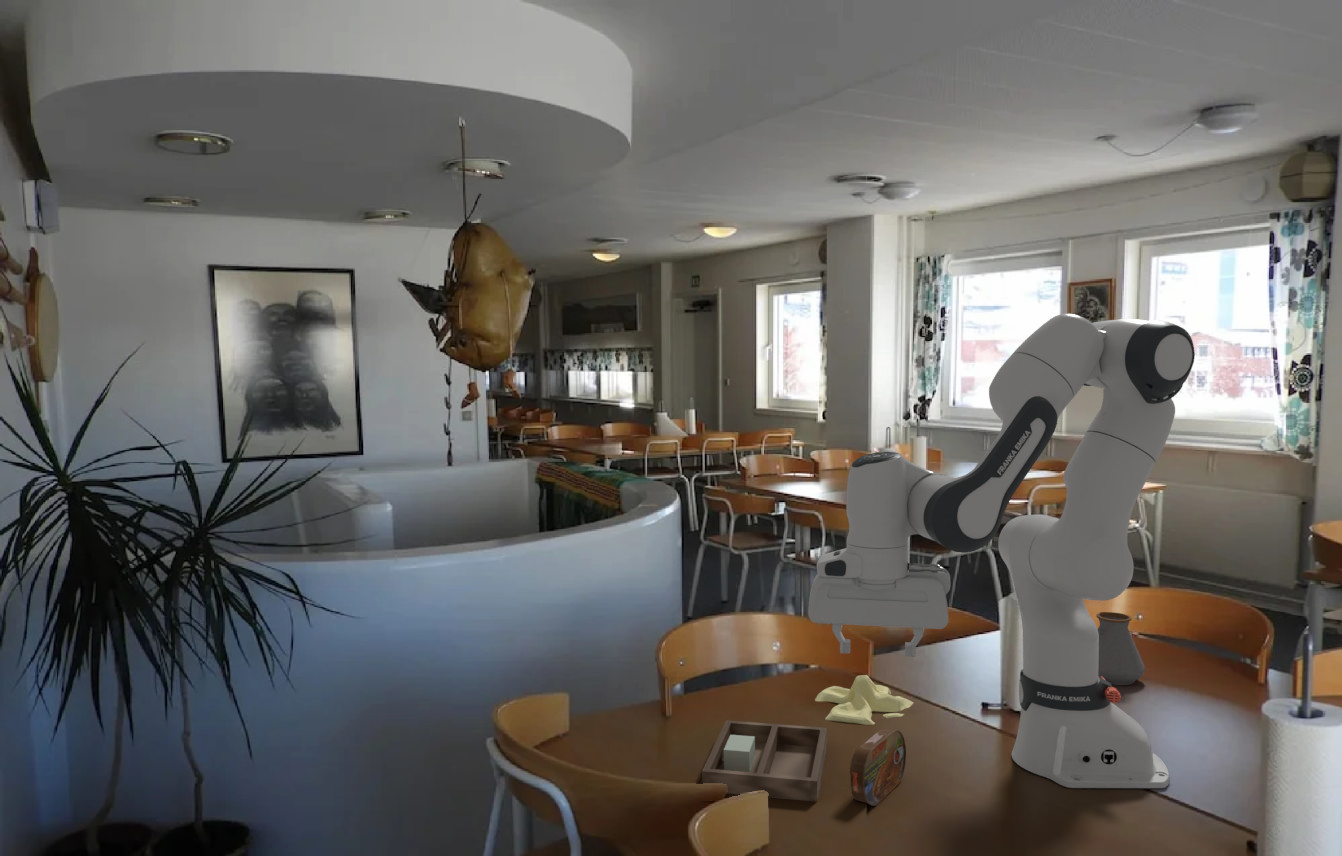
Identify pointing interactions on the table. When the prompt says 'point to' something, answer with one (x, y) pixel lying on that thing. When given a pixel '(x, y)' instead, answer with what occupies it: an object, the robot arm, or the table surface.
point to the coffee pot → (1117, 650)
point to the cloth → (862, 701)
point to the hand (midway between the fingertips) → (877, 654)
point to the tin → (878, 766)
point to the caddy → (773, 760)
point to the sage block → (739, 753)
